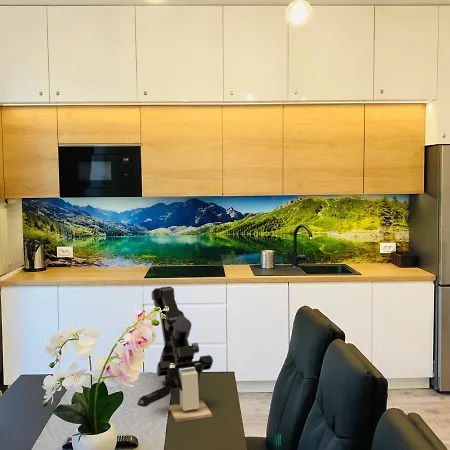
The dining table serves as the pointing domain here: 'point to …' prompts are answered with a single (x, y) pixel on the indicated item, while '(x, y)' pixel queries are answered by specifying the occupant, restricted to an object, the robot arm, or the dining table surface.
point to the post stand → (189, 412)
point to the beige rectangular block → (189, 389)
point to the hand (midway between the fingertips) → (189, 388)
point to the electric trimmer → (154, 395)
